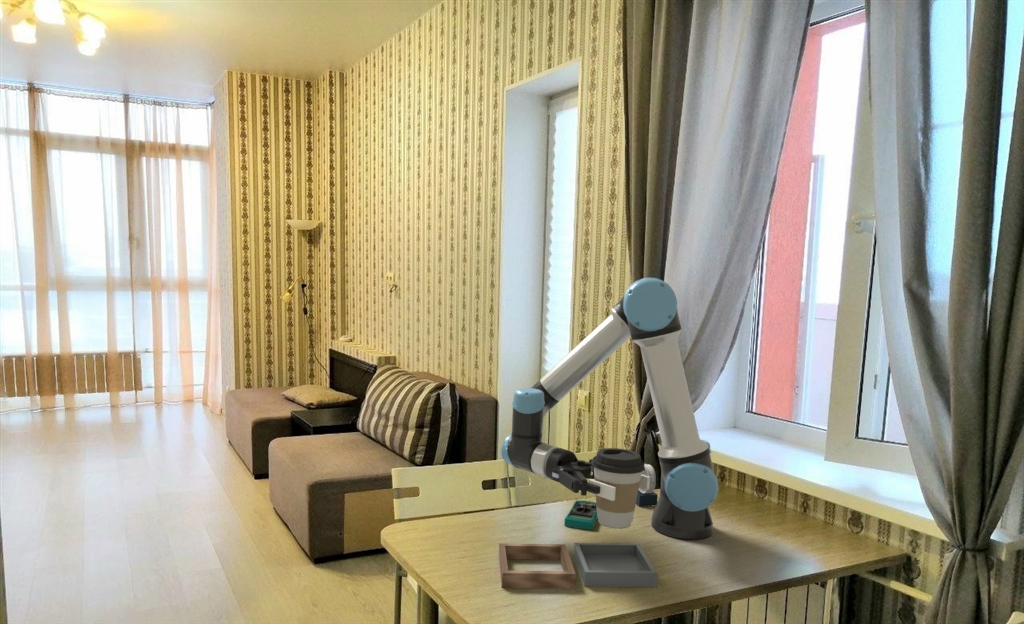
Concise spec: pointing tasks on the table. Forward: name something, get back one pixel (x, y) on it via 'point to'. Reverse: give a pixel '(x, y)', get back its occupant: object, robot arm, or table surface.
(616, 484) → the coffee cup
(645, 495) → the watch
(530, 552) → the collar
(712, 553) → the table surface
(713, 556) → the table surface
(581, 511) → the digital multimeter
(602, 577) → the tray
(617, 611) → the table surface
